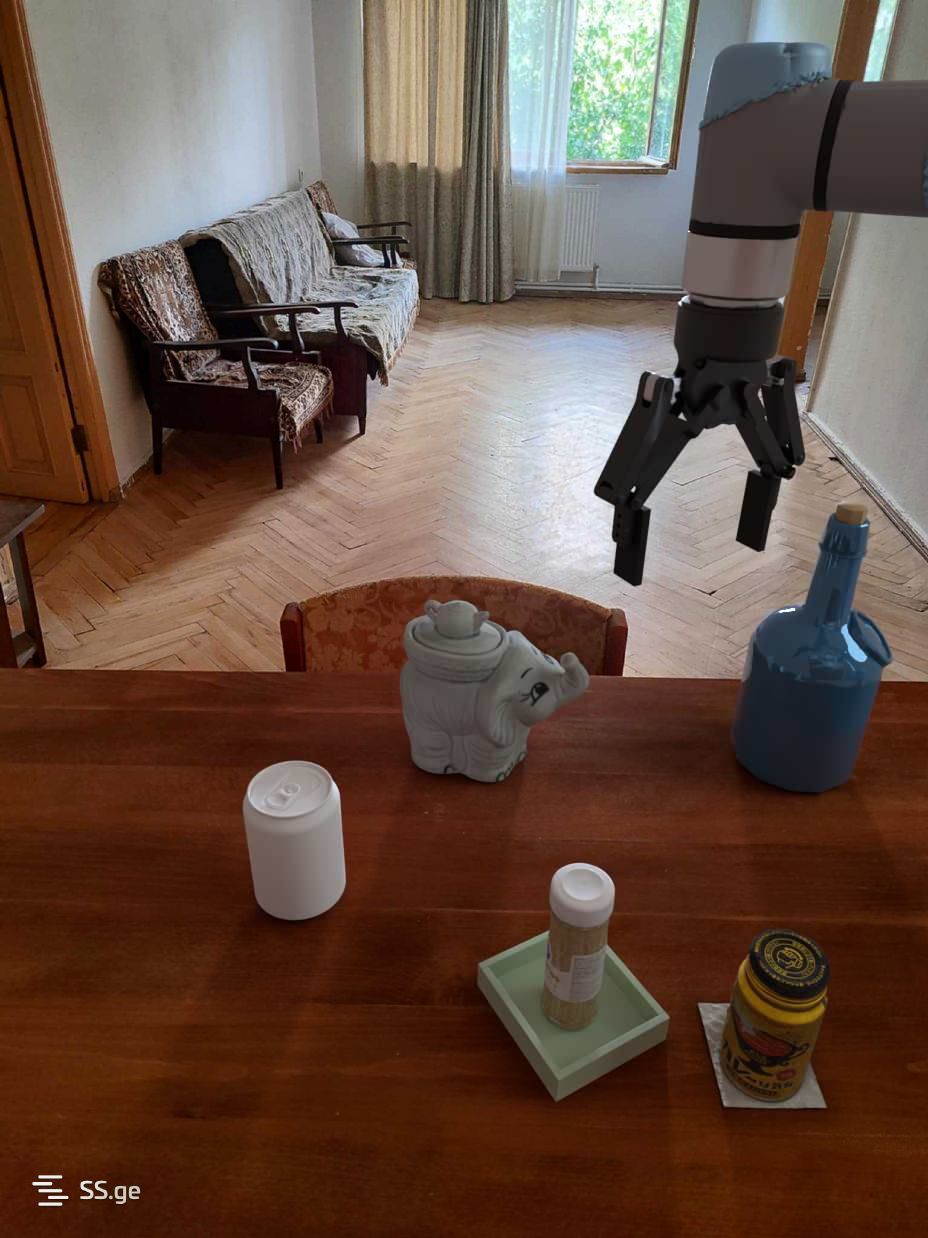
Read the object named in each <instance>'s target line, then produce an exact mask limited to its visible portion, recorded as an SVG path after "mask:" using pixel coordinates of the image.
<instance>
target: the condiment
mask: <svg viewBox="0 0 928 1238" xmlns="http://www.w3.org/2000/svg"><path fill="white" fill-rule="evenodd" d="M747 952H748V954H747V955H746V958H745V959H744V960H743V961H742V963H741V964H740V965H739V967H738V970H737V972H736V973H737V974H736V977H735V981H734V983H733V985H732V994H731V996H730V999H729V1003H725V1002H723V1003H712V1002H698V1003H697V1005H698V1009H699V1012H700V1017H701V1020H702V1024H703V1029H704V1031H705V1036H706V1040H707V1044H708V1049H709V1053H710V1057H711V1061H712V1065H713V1068H714V1074H715V1077H716V1081H717V1085H718V1088H719V1093H720V1098H721V1101H722V1103H723V1106H724V1107H725V1108H750V1109H805V1108H807V1109H809V1108H810V1109H815V1108H817V1109H827V1108H828V1107H827V1105H826V1102H825V1098H824V1096H823V1093H822V1091H821V1089H820V1086H819V1084H818V1080H817V1077H816V1074H815V1071H814V1069H813V1066H812V1062H811V1057H812V1053H813V1051H814V1048H815V1044H816V1042H817V1039H818V1035H819V1032H820V1029H821V1026H822V1023H823V1019H824V1017H825V1013H826V1010H827V1007H828V993H827V989H828V983H829V980H830V977H831V970H830V962H829V960H828V958H827V956H826V953H825V952H824V950H823V949H822V948H821V947H820V945H819V944H818V943H816V942H815V940H812V939H811V938H809V937H808V936H805V935H804V934H801V933H799V932H797V931H794V930H791V929H785V928H772V929H771V928H770V929H765V930H763V931H762V932H761V933H759V934H757V935H756V936H755V937H753V939H752V942H751V943H750V944H749V948H748V951H747Z"/></svg>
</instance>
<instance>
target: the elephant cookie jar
mask: <svg viewBox="0 0 928 1238" xmlns="http://www.w3.org/2000/svg"><path fill="white" fill-rule="evenodd" d="M423 605H424V606H423V608H424V613H425V615H422V616H419V617H416V618H414V619H412V620H411V621H409V622H408V623H407V625H405V629H404V633H403V642H402V643H403V644H402V645H403V647H404V650H405V653H406V656H407V659H408V660H407V661H406V662H405V663H404V666H403V668H402V670H401V672H400V678H399V691H400V698H401V705H402V711H403V712H402V713H403V721H404V726H405V730H406V732H407V734H408V737H409V742H410V751H411V752H410V753H411V755H410V756H411V760H412V761H413V763H414V764H415V765H416V766H417V767H419V768H420V769H421V770H423V771H426V772H428V773H432V774H437V775H439V774H440V775H443V774H444V775H449V774H457V773H460V774H462V775H465V776H466V777H468V778H470V779H473V780H476V781H478V782H483V783H494V782H501V781H503V780H505V778H507V777H508V776H509V775H510V773H511V771H512V770H513V769H514V767H515V766H516V765H517V764H518V763H519V762H521V761H522V760H523V759H524V758H525V757H526V755H527V753H528V746H527V740H528V737H529V734H530V732H531V728H532V726H533V725H536V724H540V723H542V722H544V721H545V720H546V719H548V718H549V717H550V716H552V715H553V714H554V713H555V712H556V711H557V710H558V709H561V708H562V707H565V706H566V705H568V704H570V703H572V702H573V701H575V700H576V699H578V698H579V697H580V696H581V695H582V694H584V693H585V692H586V690H587V688H588V687H589V685H590V677H589V673H588V671H587V670H586V668H585V667H584V665H582V663H581V662H580V660H579V658H578V657H577V656H576V655H575V653H573V652H566V653H564V654H562V656H561V657H560V661H559V662H558V661H557V660H556V659H555V658H554V657H552V656H550V655H549V654H547V653H544V652H543V651H541V650H540V649H538V648H537V647H536V646H535V645H534V644H533V643H531V642H530V641H529V640H528V639H527V638H526V637H525V636H524V635H523V634H522V633H521V632H520V631H518V630H510V631H508V632H507V631H506V629H505V628H504V627H503V626H501V625H500V624H498V623H495V622H493V621H491V620H489V617H490V613H489V611H487V610H483V611H478V609H477V607H476V606H475V605H473V604H472V603H470V602H468V601H465V600H458V599H457V600H452V601H448V602H446V603H444V604H443V603H440V602H439V601H436V600H435V599H428V600H427V601H425V603H424V604H423ZM433 609H434V610H435V612H436V613H435V612H434V611H433Z"/></svg>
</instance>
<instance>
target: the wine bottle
mask: <svg viewBox="0 0 928 1238" xmlns="http://www.w3.org/2000/svg"><path fill="white" fill-rule="evenodd" d="M868 512H869V509H868V507H867V506H866V504H864V503H862V502H859V501H855V500H843V501H841V502H840V503H838V504H837V506H836V509H835V512H833V513H830V515H829V517H828V519H827V521H826V524H825V526H824V529H823V532H822V535H821V537H820V540H819V542H818V543H817V547H818V548H819V550H818V553H817V558H816V561H815V565H814V568H813V572H812V576H811V579H810V583H809V586H808V590H807V593H806V597H805V599H804V601H801V602H796V603H793V604H790V605H786V606H781V607H779V608H775V609H773V610H771V611H769V612H768V613H767V614H766V615H765V616H764V617H763V618H762V620H761V621H760V622H759V624H758V625H757V627H756V628H755V630H754V631H753V632H752V634H751V635H750V638H749V642H748V646H747V651H746V656H745V661H744V666H743V671H742V677H741V681H740V685H739V689H738V695H737V699H736V700H737V701H736V705H735V710H734V714H733V720H732V725H731V730H730V734H729V738H730V741H731V744H732V748H733V752H734V753H735V757H736V760H737V762H738V764H739V765H741V766H742V767H743V768H744V769H746V770H747V771H748V772H749V773H750V774H752V775H753V776H754V777H756V778H757V779H758V780H759V781H761V782H765V783H767V784H769V785H773V786H775V787H778V788H781V789H783V790H786V791H788V792H799V793H800V792H802V793H824V792H826V791H829V790H831V789H834V788H837V787H839V786H842V785H845V783H846V782H848V781H849V780H850V778H851V776H852V773H853V771H854V768H855V767H856V765H857V762H858V758H859V755H860V752H861V748H862V745H863V742H864V739H865V735H866V731H867V728H868V725H869V722H870V718H871V715H872V712H873V709H874V705H875V701H876V698H877V695H878V691H879V688H880V685H881V681H882V678H883V675H884V672H885V668H886V667H888V666H889V665H891V664H892V663H893V658H894V657H893V654H892V651H891V648H890V646H889V644H888V641H887V639H886V638H885V636H884V634H883V633H882V631H881V629H880V628H879V627H878V625H877V624H876V623H875V622H874V620H873V619H871V617H869V616H868V615H866V614H865V613H863V612H862V611H861V610H859V609H858V608H856V607H855V608H853V606H854V601H855V596H856V593H857V592H856V591H857V587H858V583H859V579H860V578H859V577H860V573H861V568H862V565H863V559H864V558H865V557H866V555H867V554H868V553H869V550H868V546H869V537H870V530H871V521H870V520H869V519H868V517H867V515H868Z"/></svg>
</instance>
